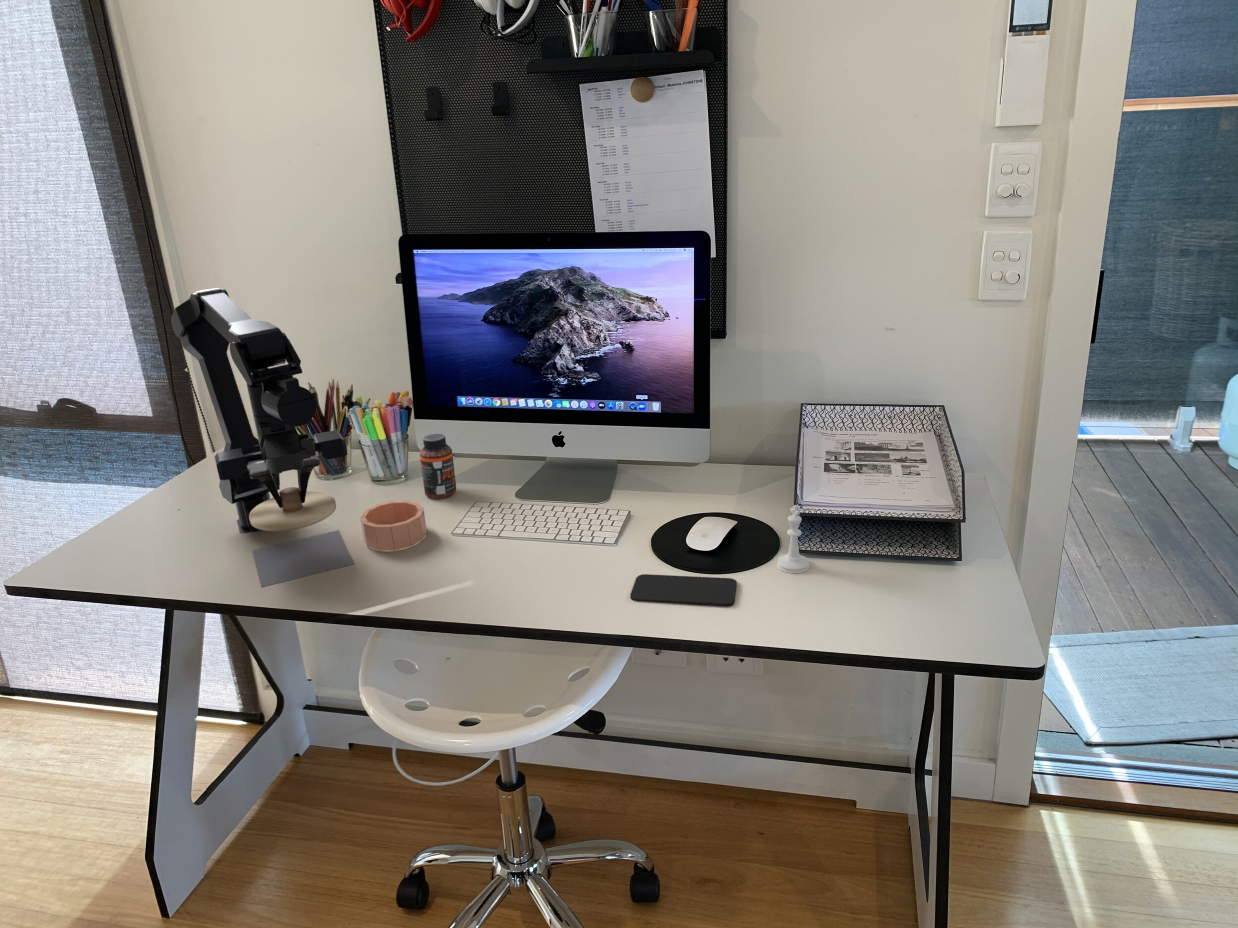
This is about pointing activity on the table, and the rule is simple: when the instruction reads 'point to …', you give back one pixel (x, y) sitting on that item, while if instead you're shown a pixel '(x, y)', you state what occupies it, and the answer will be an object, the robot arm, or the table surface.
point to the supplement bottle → (437, 467)
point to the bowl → (393, 525)
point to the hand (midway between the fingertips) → (291, 504)
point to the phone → (684, 590)
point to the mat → (301, 558)
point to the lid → (292, 511)
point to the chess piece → (793, 548)
